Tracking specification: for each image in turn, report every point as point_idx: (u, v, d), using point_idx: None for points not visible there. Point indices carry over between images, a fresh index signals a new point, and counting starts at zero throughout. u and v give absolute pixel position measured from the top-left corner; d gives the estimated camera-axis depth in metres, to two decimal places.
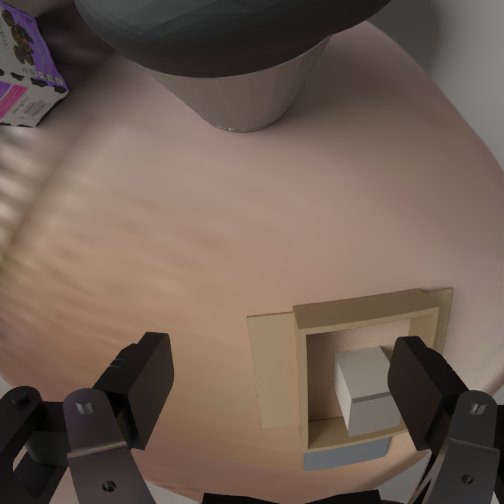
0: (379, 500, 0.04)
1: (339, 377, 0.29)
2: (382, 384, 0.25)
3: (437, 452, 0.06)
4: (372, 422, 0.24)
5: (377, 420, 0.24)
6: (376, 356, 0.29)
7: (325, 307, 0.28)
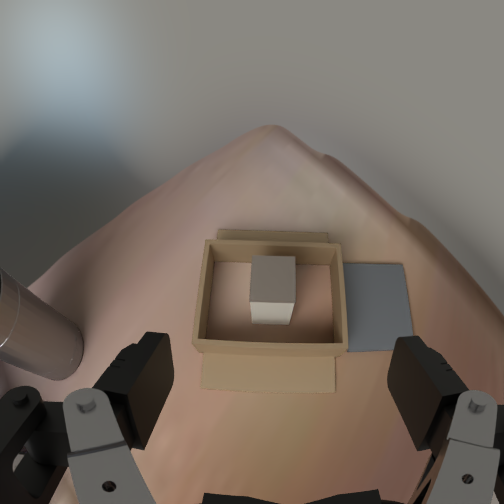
0: (379, 500, 0.04)
1: (263, 317, 0.36)
2: None
3: (437, 452, 0.06)
4: (281, 281, 0.32)
5: (280, 277, 0.33)
6: None
7: None
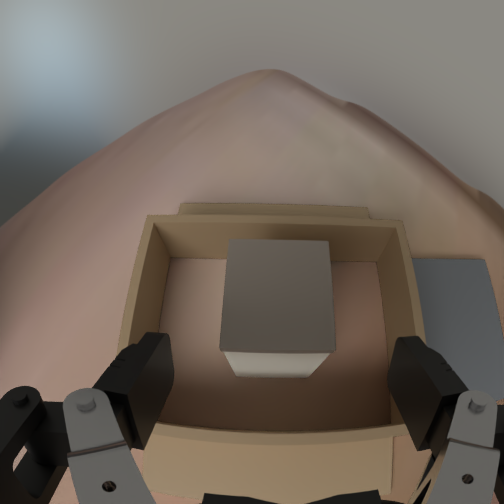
0: (379, 500, 0.04)
1: (257, 371, 0.17)
2: None
3: (437, 452, 0.06)
4: (298, 300, 0.13)
5: (295, 289, 0.13)
6: None
7: None
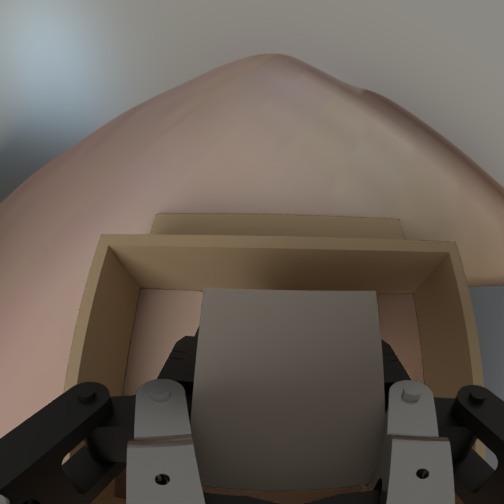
0: (379, 500, 0.04)
1: None
2: None
3: None
4: (326, 404, 0.07)
5: (321, 385, 0.07)
6: None
7: None
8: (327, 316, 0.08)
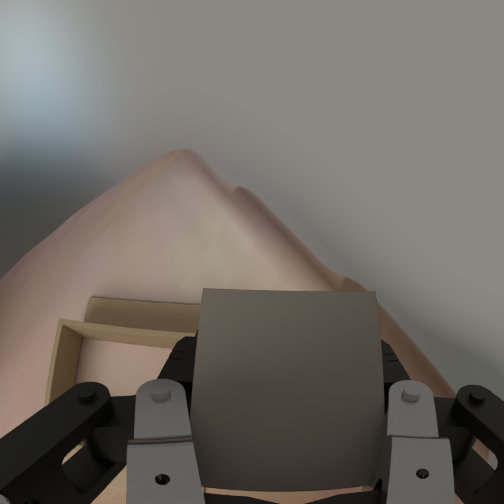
0: (379, 500, 0.04)
1: None
2: None
3: None
4: (325, 405, 0.07)
5: (320, 386, 0.07)
6: None
7: None
8: (326, 317, 0.08)
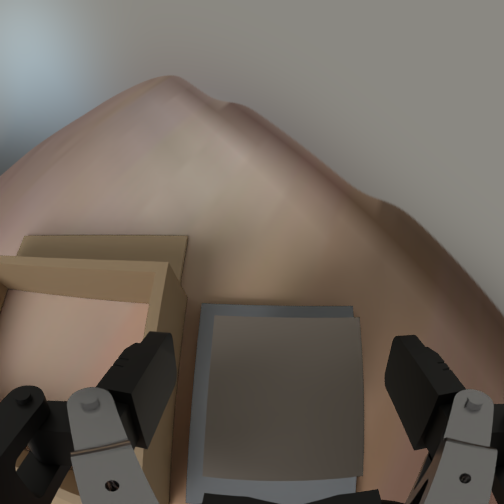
0: (379, 500, 0.04)
1: None
2: None
3: (434, 451, 0.06)
4: (315, 412, 0.08)
5: (311, 396, 0.08)
6: None
7: None
8: (317, 339, 0.09)
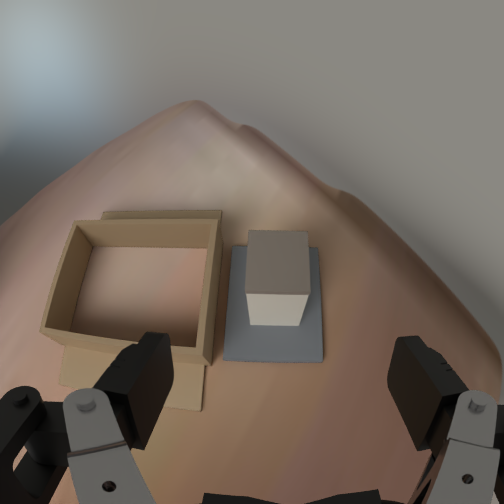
0: (379, 500, 0.04)
1: (265, 316, 0.27)
2: None
3: (437, 452, 0.06)
4: (289, 264, 0.23)
5: (287, 258, 0.23)
6: None
7: None
8: (289, 238, 0.24)
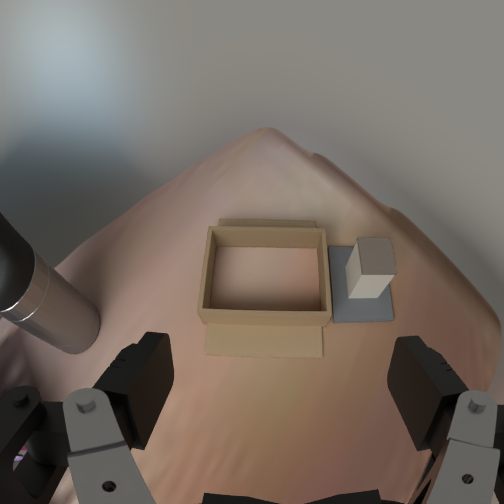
0: (379, 500, 0.04)
1: (361, 291, 0.41)
2: (356, 256, 0.40)
3: (437, 452, 0.06)
4: (383, 257, 0.37)
5: (382, 254, 0.38)
6: (348, 267, 0.44)
7: None
8: (381, 242, 0.38)
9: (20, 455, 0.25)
